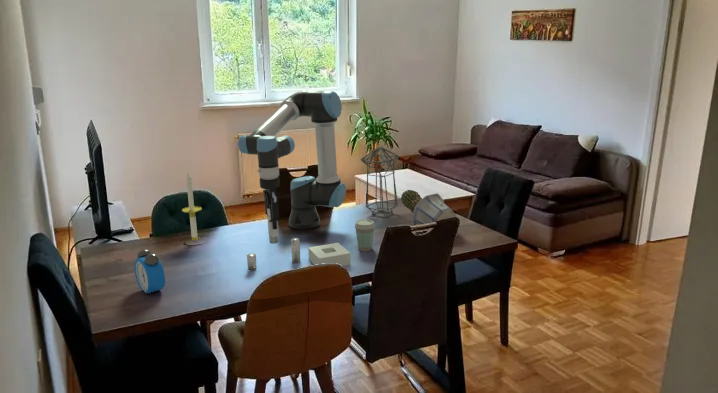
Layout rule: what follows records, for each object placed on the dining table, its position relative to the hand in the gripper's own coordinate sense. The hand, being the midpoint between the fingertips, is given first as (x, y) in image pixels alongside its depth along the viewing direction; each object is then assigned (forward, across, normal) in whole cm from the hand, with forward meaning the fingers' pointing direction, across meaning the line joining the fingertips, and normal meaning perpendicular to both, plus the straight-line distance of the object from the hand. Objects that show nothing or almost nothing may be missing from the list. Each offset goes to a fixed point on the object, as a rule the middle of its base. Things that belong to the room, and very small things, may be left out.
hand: (273, 234), depth 221 cm
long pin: (+3, 0, 0) cm, 3 cm away
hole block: (+13, +6, +20) cm, 25 cm away
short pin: (+13, 0, -10) cm, 16 cm away
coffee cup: (+14, 0, +39) cm, 42 cm away
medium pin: (+13, 0, +8) cm, 15 cm away
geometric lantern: (+15, -42, +66) cm, 80 cm away
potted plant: (+15, -14, +76) cm, 79 cm away
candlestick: (+13, -42, -26) cm, 51 cm away
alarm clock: (+12, +4, -47) cm, 49 cm away
